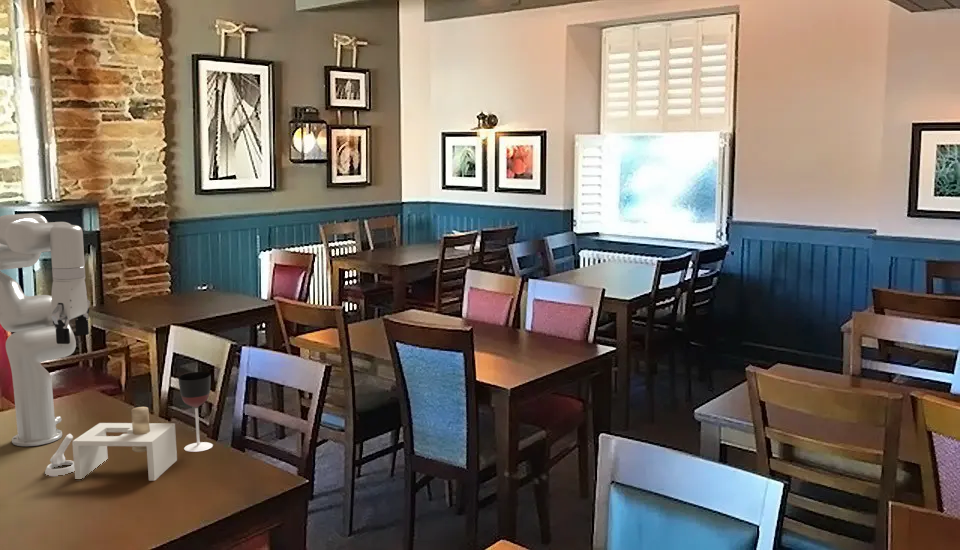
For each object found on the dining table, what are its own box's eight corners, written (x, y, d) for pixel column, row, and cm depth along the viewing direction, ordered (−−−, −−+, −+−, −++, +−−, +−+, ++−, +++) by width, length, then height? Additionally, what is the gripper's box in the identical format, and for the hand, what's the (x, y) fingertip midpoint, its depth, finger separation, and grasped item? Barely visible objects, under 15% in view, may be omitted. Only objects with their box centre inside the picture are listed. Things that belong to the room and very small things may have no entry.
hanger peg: (137, 445, 217) (134, 406, 215) (155, 445, 216) (153, 406, 215) (128, 452, 212) (126, 412, 210) (147, 452, 212) (145, 412, 210)
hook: (86, 456, 210) (59, 443, 208) (63, 491, 213) (37, 478, 211) (96, 440, 217) (70, 427, 215) (74, 474, 220) (48, 462, 218)
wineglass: (220, 443, 234) (216, 373, 231) (200, 453, 226) (196, 381, 223) (196, 440, 237) (192, 371, 234) (176, 450, 229) (171, 379, 226)
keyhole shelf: (75, 479, 209) (72, 441, 207) (102, 459, 222) (99, 422, 221) (154, 480, 208) (152, 441, 206) (177, 460, 222) (174, 423, 220)
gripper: (71, 268, 224) (75, 331, 226) (35, 279, 207) (40, 347, 209) (99, 268, 223) (103, 331, 226) (66, 279, 206) (70, 347, 209)
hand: (73, 339), depth 218 cm, fingers open, 9 cm apart
